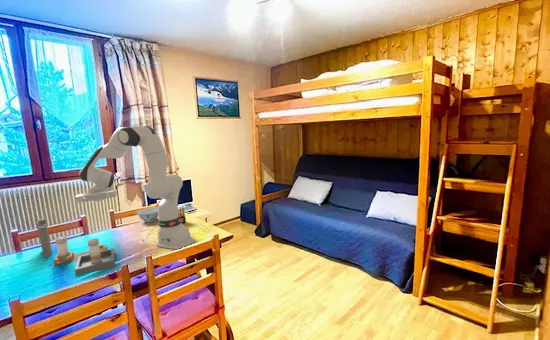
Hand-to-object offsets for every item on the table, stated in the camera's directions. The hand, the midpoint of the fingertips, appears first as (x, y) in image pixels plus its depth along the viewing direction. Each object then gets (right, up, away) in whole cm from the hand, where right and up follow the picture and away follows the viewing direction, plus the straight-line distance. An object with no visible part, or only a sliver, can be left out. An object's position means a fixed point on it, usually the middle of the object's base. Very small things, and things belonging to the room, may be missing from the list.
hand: (95, 198), depth 155 cm
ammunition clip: (+31, -22, +40) cm, 56 cm away
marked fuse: (+8, -31, -13) cm, 35 cm away
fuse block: (-5, -31, -4) cm, 32 cm away
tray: (+8, -32, -12) cm, 35 cm away
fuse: (-12, -31, -8) cm, 34 cm away
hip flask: (-29, -31, +4) cm, 43 cm away
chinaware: (+8, -21, +50) cm, 55 cm away
